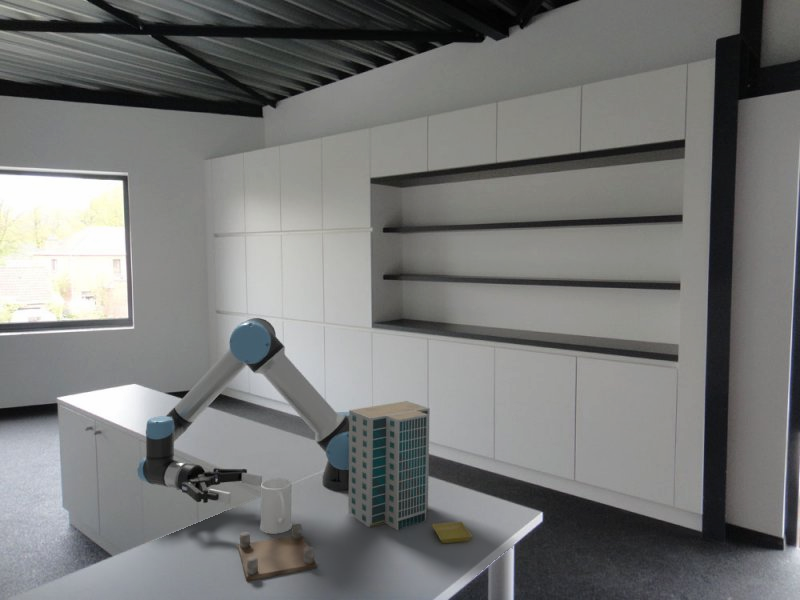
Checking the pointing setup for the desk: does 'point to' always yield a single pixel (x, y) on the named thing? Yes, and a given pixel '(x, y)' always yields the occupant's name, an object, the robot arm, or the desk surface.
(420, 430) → the building model
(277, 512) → the mug
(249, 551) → the board with corner pegs
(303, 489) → the desk surface
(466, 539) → the yellow square slab
